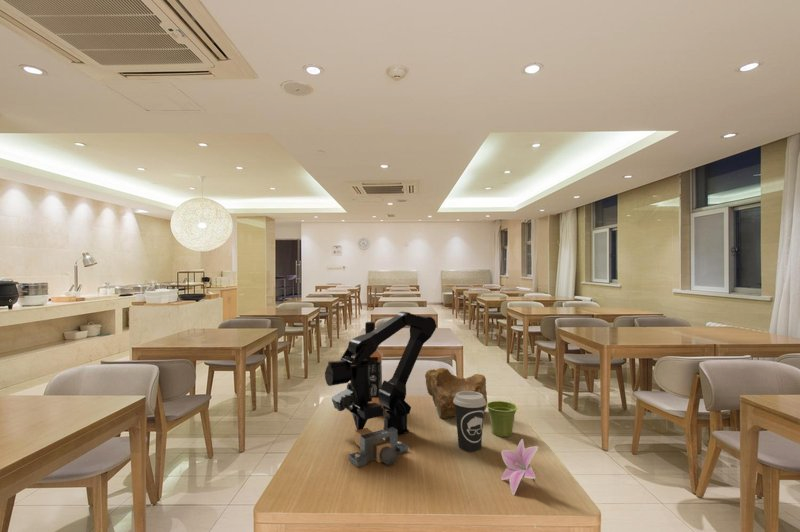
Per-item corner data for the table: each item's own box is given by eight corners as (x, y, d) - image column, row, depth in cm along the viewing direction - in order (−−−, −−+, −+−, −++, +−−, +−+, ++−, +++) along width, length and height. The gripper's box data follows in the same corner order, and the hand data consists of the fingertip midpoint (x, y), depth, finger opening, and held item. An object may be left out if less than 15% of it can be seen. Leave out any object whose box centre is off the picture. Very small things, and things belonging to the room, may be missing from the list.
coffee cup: (489, 443, 112) (489, 392, 113) (482, 457, 104) (482, 402, 104) (458, 437, 116) (458, 388, 117) (449, 450, 108) (448, 397, 108)
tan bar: (355, 443, 112) (355, 430, 112) (366, 440, 114) (366, 427, 114) (384, 467, 98) (384, 452, 98) (397, 463, 100) (397, 448, 100)
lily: (503, 470, 98) (488, 442, 97) (547, 458, 96) (532, 428, 94) (509, 512, 87) (493, 480, 85) (559, 499, 84) (543, 466, 82)
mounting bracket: (348, 459, 102) (349, 436, 102) (398, 444, 111) (398, 423, 111) (357, 467, 98) (357, 443, 98) (408, 451, 107) (408, 429, 107)
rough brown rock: (415, 420, 133) (415, 378, 132) (427, 401, 148) (427, 364, 147) (482, 431, 125) (483, 387, 124) (487, 410, 141) (488, 371, 140)
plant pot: (512, 442, 113) (512, 413, 113) (482, 435, 118) (482, 407, 118) (520, 431, 121) (520, 404, 121) (492, 425, 126) (492, 399, 126)
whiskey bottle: (381, 409, 141) (381, 323, 142) (355, 409, 141) (355, 323, 142) (383, 400, 151) (383, 320, 152) (358, 400, 152) (359, 320, 153)
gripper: (322, 377, 118) (322, 427, 117) (349, 392, 102) (349, 451, 102) (354, 372, 124) (354, 420, 123) (384, 386, 108) (384, 441, 108)
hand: (359, 432), depth 114 cm, fingers closed
